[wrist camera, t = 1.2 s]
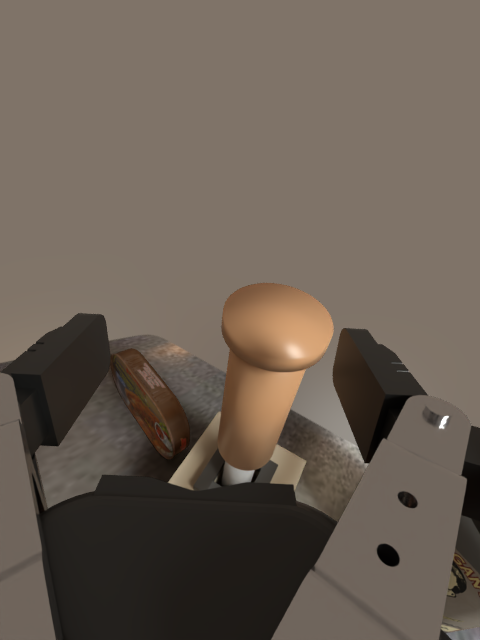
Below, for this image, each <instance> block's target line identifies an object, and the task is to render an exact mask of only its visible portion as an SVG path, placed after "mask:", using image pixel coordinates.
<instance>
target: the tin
mask: <svg viewBox="0 0 480 640" xmlns="http://www.w3.org/2000/svg"><path fill="white" fill-rule="evenodd" d="M110 366H111V371H112V374H113V377H114V381H115V383H116V386H117V389H118V391H119V393H120V395H121V397H122V399H123V400H124V402H125V404H126V405H127V407H128V409H129V410H130V411H131V413H132V414H133V416H134V417H135V419H136V420H137V422H138V423H139V425H140V426H141V428H142V429H143V431H144V432H145V434H146V435H147V437H148V438H149V440H150V441H151V443H152V444H153V446H154V447H155V448H156V450H157V451H158V452H159V453H160V454H161V455H162V456H163V457H164V458H166V459H172V458H173V457H174V456H175V455H176V454H178V453H179V452H181V451H183V450H184V449H185V448H187V447H188V445H189V441H190V427H189V423H188V420H187V417H186V414H185V412H184V410H183V408H182V406H181V404H180V403H179V401H178V399H177V398H176V396H175V395H174V394H173V392H172V391H171V390H170V389H169V387H168V386H167V385H166V383H165V382H164V381H163V380H162V379H161V377H160V376H159V375H158V374H157V372H156V371H155V370H154V369H153V367H152V366H151V365H150V364H149V362H148V361H147V360H146V359H145V358H144V356H143V355H142V354H141V353H140V352H139V351H137V350H136V349H133V348H131V349H127V350H124V351H122V352H119V353H117V354H112V355H111V359H110Z"/></svg>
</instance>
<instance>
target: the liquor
mask: <svg viewBox="0 0 480 640" xmlns="http://www.w3.org/2000/svg"><path fill="white" fill-rule="evenodd" d="M476 627H480V534H479V532H478V530H477V528H476V527H475V525H474V523H473V521H472V520H471V518H469V517H466V516H463V515H461V518H460V524H459V529H458V535H457V540H456V546H455V552H454V557H453V563H452V569H451V574H450V580H449V585H448V591H447V597H446V602H445V608H444V613H443V619H442V625H441V629H442V630H443V631H444V632H445V633H449V632H455V631H460V630H465V629H471V628H476Z"/></svg>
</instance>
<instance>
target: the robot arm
mask: <svg viewBox="0 0 480 640" xmlns="http://www.w3.org/2000/svg"><path fill="white" fill-rule="evenodd" d="M110 359H111V357H110V348H109V341H108V334H107V326H106V321H105V318H104V316H103V315H101V314H83V313H78V314H77V315H75V316H74V317H73V318H72V319H71V320H70V321H69V322H68V323H67V324H65V325H64V326H63V327H59V328H57V329H55V330H53V331H51V332H48V333H47V334H45V335H44V336H43V337H42V338H40V339H39V340H38V341H37V342H36V344H33V345H32V346H31V347H30V348H29V349H28V351H25V352H24V353H23V354H22V355H20V356H19V357H18V358H17V359H16V360H14V361H13V362H12V363H11V364H10V365H9V366H7V367H6V368H5V369H4V370H3V371H1V372H0V640H451V639H450V638H449V636H448V635H447V634H446V633H445V632H444V631H443V630H442V629H441V625H442V619H443V613H444V608H445V602H446V597H447V591H448V585H449V580H450V574H451V569H452V563H453V557H454V552H455V546H456V540H457V535H458V529H459V524H460V518H461V515H463V516H466V517H469V518H471V520H472V521H473V523H474V525H475V527H476V528H477V530H478V532H479V534H480V428H478V427H474V426H471V423H470V420H469V419H468V417H467V416H466V415H465V414H464V413H463V412H462V411H461V410H460V409H458V408H457V407H456V406H454V405H452V404H450V403H449V402H446V401H444V400H442V399H439V398H436V397H432V396H428V395H427V393H426V392H425V391H424V390H423V388H422V387H421V386H420V385H419V383H418V382H417V381H416V379H415V378H414V377H413V376H412V374H411V373H409V372H408V369H407V368H406V367H405V365H404V364H402V362H401V360H400V359H399V358H398V356H397V355H396V354H395V353H394V352H392V351H391V350H390V349H388V348H387V347H385V346H384V345H382V344H377V342H376V341H375V340H374V339H373V337H372V336H371V334H370V333H369V332H368V330H366V329H350V328H344V329H342V331H341V334H340V337H339V343H338V347H337V352H336V357H335V362H334V366H333V383H334V387H335V389H336V392H337V394H338V397H339V399H340V402H341V404H342V407H343V410H344V412H345V414H346V417H347V420H348V422H349V425H350V427H351V430H352V432H353V435H354V437H355V440H356V442H357V445H358V447H359V450H360V453H361V455H362V458H363V460H364V463H369V465H368V467H367V469H366V471H365V473H364V475H363V477H362V479H361V480H360V482H359V484H358V486H357V488H356V490H355V492H354V494H353V495H352V497H351V499H350V501H349V503H348V505H347V507H346V509H345V510H344V512H343V514H342V516H341V518H340V520H339V522H338V523H337V522H336V521H335V520H333V519H332V518H330V517H329V516H328V515H326V514H325V513H323V512H321V511H319V510H317V509H315V508H313V507H311V506H309V505H306V504H304V503H301V502H298V501H296V498H295V491H294V484H274V483H255V482H244V483H239V484H234V485H228V486H223V487H217V488H212V489H206V490H200V491H195V490H190V489H187V488H184V487H180V486H177V485H174V484H171V483H167V482H164V481H161V480H157V479H154V478H151V477H137V476H118V475H102V477H101V479H100V481H99V483H98V486H97V488H96V490H95V491H93V492H89V493H85V494H82V495H78V496H75V497H73V498H70V499H67V500H65V501H63V502H61V503H58V504H56V505H54V506H52V507H50V508H49V509H48V507H47V503H46V498H45V494H44V489H43V484H42V480H41V475H40V471H39V466H38V462H37V458H36V455H35V452H36V450H37V449H38V448H39V446H40V445H44V446H59V445H60V443H61V442H62V440H63V439H64V437H65V436H66V434H67V433H68V431H69V430H70V428H71V427H72V425H73V424H74V422H75V421H76V419H77V418H78V416H79V415H80V413H81V412H82V410H83V409H84V407H85V406H86V404H87V403H88V401H89V400H90V398H91V397H92V395H93V394H94V392H95V391H96V389H97V388H98V386H99V385H100V383H101V382H102V380H103V379H104V377H105V376H106V374H107V372H108V370H109V366H110Z"/></svg>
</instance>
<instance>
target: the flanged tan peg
mask: <svg viewBox="0 0 480 640" xmlns="http://www.w3.org/2000/svg"><path fill="white" fill-rule="evenodd" d="M222 335H223V338H224V340H225V342H226V344H227V345H228V347H229V348H230V352H229V360H228V367H227V374H226V381H225V388H224V395H223V403H222V410H221V417H220V425H219V432H218V440H217V443H218V449H219V452H220V454H221V456H222V457H223V459H224V460H225V465H224V471H223V476H222V481H221V486H222V487H223V486H228V485H234V484H239V483H244V482H251V480H252V477H253V474H254V471H255V470H256V469H259V468H261V467H263V466H264V465H266V464H267V463H268V461H269V460H270V459H271V457H272V455H273V452H274V450H275V447H276V445H277V442H278V439H279V437H280V434H281V432H282V429H283V426H284V424H285V421H286V419H287V416H288V414H289V411H290V408H291V406H292V403H293V401H294V398H295V396H296V393H297V390H298V388H299V385H300V382H301V380H302V377H303V375H304V372H305V370H306V369H307V368H309V367H311V366H313V365H315V364H316V363H317V362H318V361H319V360H320V359H321V358H322V357H323V356H324V354H325V352H326V350H327V347H328V345H329V342H330V340H331V338H332V335H333V322H332V319H331V316H330V314H329V313H328V311H327V310H326V309H325V307H324V306H323V305H322V304H321V303H320V302H319V301H317V300H316V299H315V298H314V297H312V296H311V295H309V294H307V293H305V292H303V291H301V290H299V289H296V288H293V287H290V286H287V285H282V284H274V283H259V284H253V285H248V286H245V287H242V288H240V289H239V290H237V291H235V292H234V293H233V294H231V295H230V296H229V298H228V299H227V301H226V302H225V305H224V308H223V317H222Z"/></svg>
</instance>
